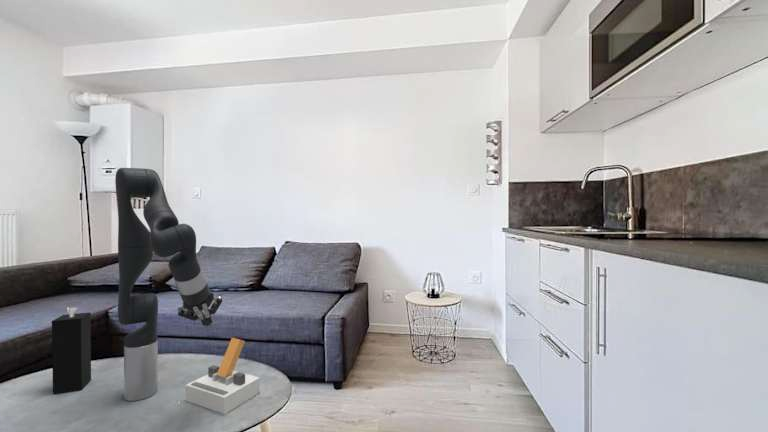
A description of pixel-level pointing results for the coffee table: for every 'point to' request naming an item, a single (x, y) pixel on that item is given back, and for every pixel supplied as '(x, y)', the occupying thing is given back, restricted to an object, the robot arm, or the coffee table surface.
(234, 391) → the white slotted plate
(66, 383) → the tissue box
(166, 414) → the coffee table surface
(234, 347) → the breaker handle
